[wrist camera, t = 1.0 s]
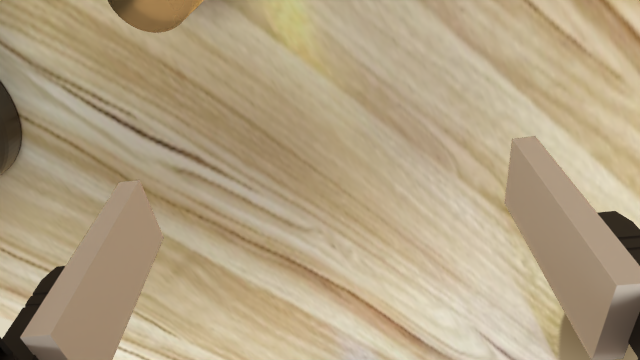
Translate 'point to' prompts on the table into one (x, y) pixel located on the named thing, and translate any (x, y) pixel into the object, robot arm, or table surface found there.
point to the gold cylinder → (154, 13)
